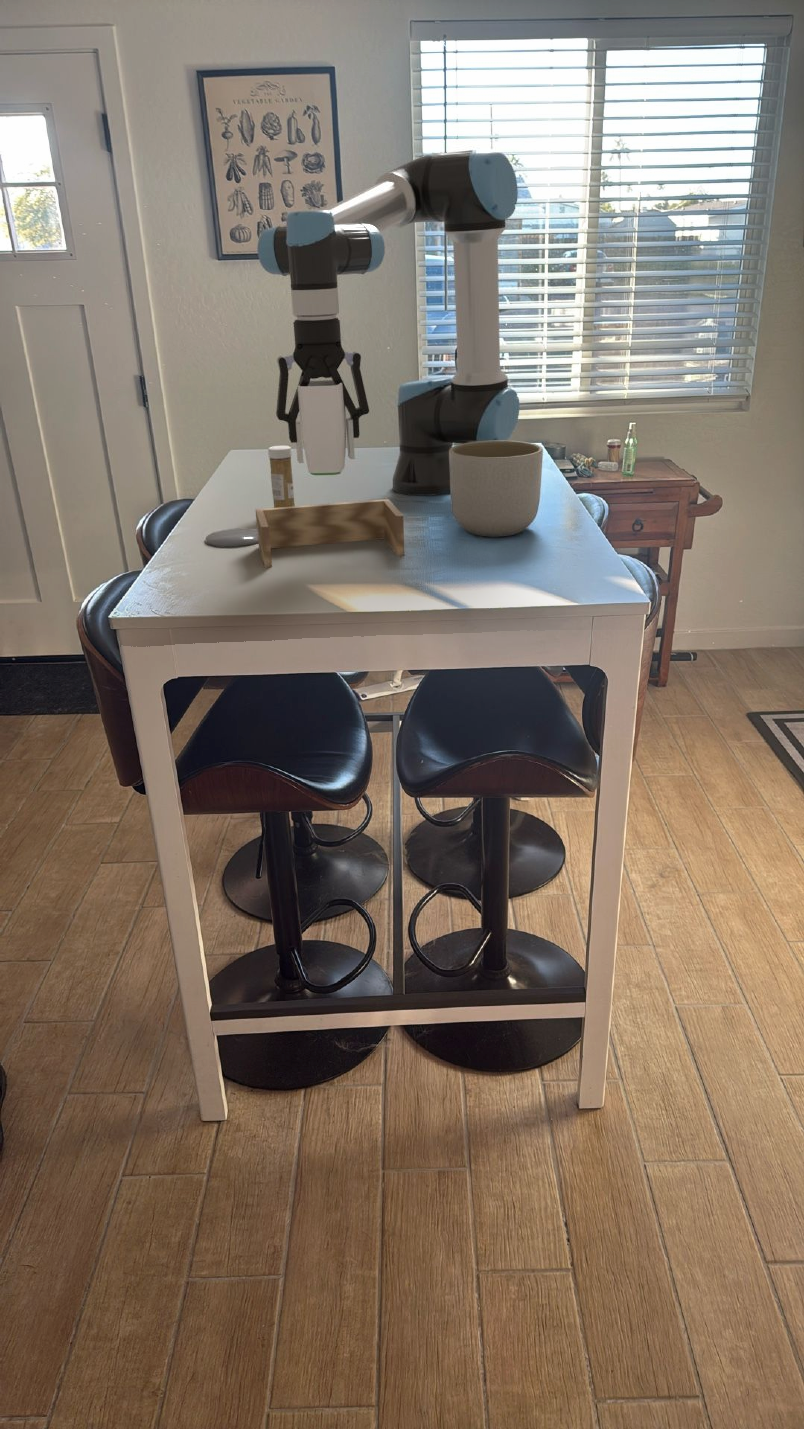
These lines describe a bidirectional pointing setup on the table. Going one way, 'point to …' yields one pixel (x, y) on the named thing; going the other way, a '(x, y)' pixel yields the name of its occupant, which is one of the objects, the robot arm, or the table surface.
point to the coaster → (233, 538)
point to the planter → (495, 486)
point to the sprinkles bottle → (281, 476)
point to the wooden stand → (329, 525)
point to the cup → (323, 426)
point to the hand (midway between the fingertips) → (326, 459)
